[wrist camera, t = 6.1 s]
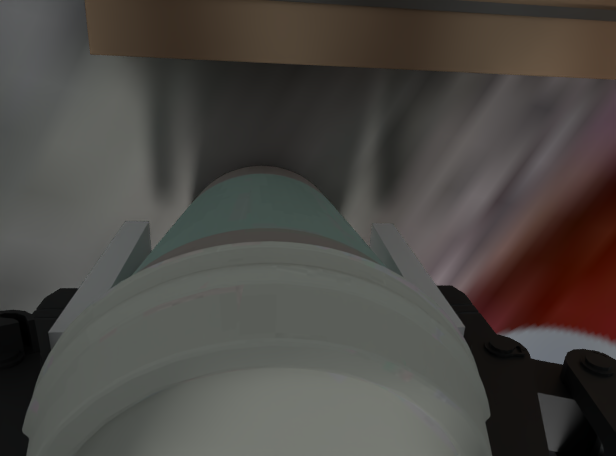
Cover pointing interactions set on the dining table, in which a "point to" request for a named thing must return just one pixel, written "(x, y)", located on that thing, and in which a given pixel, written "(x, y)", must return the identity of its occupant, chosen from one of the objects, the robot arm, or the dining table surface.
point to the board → (368, 33)
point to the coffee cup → (260, 344)
